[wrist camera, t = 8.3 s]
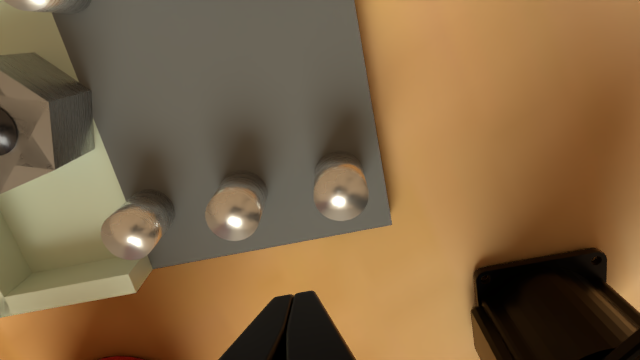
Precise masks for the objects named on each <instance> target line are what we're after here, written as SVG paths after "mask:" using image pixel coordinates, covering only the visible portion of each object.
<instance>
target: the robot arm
mask: <svg viewBox="0 0 640 360" xmlns="http://www.w3.org/2000/svg"><path fill="white" fill-rule="evenodd" d="M596 256H597V257H596ZM594 257H596V259H595V260H593V261H592V259H593V258H594ZM606 273H607V258H606V255H605V254H604V253H603V252H602V251H600V250H599V249H597V248H590V249H584V250H578V251H573V252H567V253H561V254H556V255H550V256H544V257H538V258H533V259H527V260H521V261H516V262H510V263H504V264H498V265H493V266H487V267H482V268H479V269H477V270H476V271H475V273H474V276H473V279H474V289H475V298H476V306H475V307H473V309H472V310H471V318H472V327H473V337H474V346H475V349H476V351H477V353H478V355H479V357H480V359H481V360H640V313H639V312H638V311H637V310H636V309H635V308H634V307H633V306H632V305H631V304H629V303H628V302H627V301H626V300H625V299H624V298H623V297H622V296H620V295H619V294H618V293H617V292H616V291H615V290H614V289H613V288H612V287H610V286H609V285H608V284H607V283H606ZM483 276H488V277H487V278H486V279H484V280H481V278H482V277H483ZM219 360H356V359H355V357H354V356H353V354H352V352H351V351H350V349H349V347H348V346H347V344H346V342H345V341H344V339H343V337H342V336H341V334H340V333H339V331H338V329H337V328H336V326H335V324H334V323H333V321H332V319H331V318H330V316H329V314H328V313H327V311H326V309H325V308H324V306H323V304H322V303H321V301H320V300H319V298H318V296H317V295H316V293H315V292H314V291H307V292H301V293H297V294H295V295H294V296H293V295H292V294H290V295H284V296H278V297H275V298H273V299H272V300H271V301H270V302H269V304H268V305H267V306H266V307H265V308H264V309H263V310H262V311H261V312H260V314H259V315H258V316H257V317H256V318H255V319H254V320H253V321H252V323H251V324H250V325H249V326H248V327H247V328H246V329H245V330H244V332H243V333H242V334H241V335H240V336H239V337H238V338H237V339H236V341H235V342H234V343H233V344H232V345H231V346H230V347H229V348H228V349H227V351H226V352H225V353H224V354H223V355H222V356H221V357H220V358H219Z"/></svg>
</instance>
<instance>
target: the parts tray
mask: <svg viewBox="0 0 640 360" xmlns="http://www.w3.org/2000/svg"><path fill="white" fill-rule="evenodd" d="M32 52H35V53H36V54H38V55H39V56H41V57H42V58H44V59H45V60H47V61H48V62H50V63H51V64H53V65H54V66H56V67H57V68H59V69H60V70H62V71H63V72H65V73H66V74H68V75H69V76H71V77H72V78H74V79H75V80H77V81H78V78H77V76H76V73H75V71H74V68H73V66H72V63H71V61H70V58H69V56H68V53H67V51H66V48H65V46H64V43H63V40H62V38H61V35H60V33H59V30H58V28H57V25H56V23H55V20H54V18H53V15H52V13H50V12H33V11H23V10H19V9H16V8H14V7H12V6H10V5H9V4H8V3H6V2H5V1H4V0H0V55H8V54H20V53H32ZM78 82H79V81H78ZM93 125H94V142H95V149H94V150H92V151H90V152H88V153H86V154H84V155H82V156H80V157H79V158H77V159H75V160H73V161H71V162H69V163H67V164H65V165H63V166H62V167H60V168H58V169H56V170H54V171H52V172H49V173H47V174H45V175H42V176H40V177H38V178H36V179H33V180H31V181H29V182H27V183H24V184H22V185H20V186H18V187H15V188H13V189H11V190H8V191H6V192H4V193H2V194H0V318H1V317H6V316H12V315H17V314H23V313H28V312H34V311H39V310H45V309H50V308H56V307H61V306H67V305H72V304H78V303H83V302H89V301H94V300H100V299H105V298H111V297H116V296H122V295H127V294H133V293H136V292H137V291H138V290H139V288H140V287H141V285H142V284H143V282H144V281H145V280H146V278H147V277H148V275H149V274H150V273H151V271H152V270H153V268H152V266H151V263H150V261H149V258H148V256H145V257H144V258H141V259H138V260H125V259H122V258H119V257H117V256H115V255H113V254H112V253H111V252H110V251H109V250H108V249H107V248H106V247H105V245H104V243H103V241H102V238H101V228H102V225H103V223H104V221H105V220H106V219H107V218H108V217H109V216H110V215H112V214H113V213H114V212H115V211H116V210H117V209H118V208H120V207H121V206H122V205H123V204H124V203H125V202H126V200H125V197H124V195H123V192H122V190H121V187H120V185H119V182H118V180H117V177H116V175H115V172H114V170H113V167H112V164H111V162H110V159H109V157H108V154H107V152H106V149H105V147H104V144H103V142H102V139H101V137H100V134H99V132H98V129H97V127H96V124H95V121H94V119H93Z"/></svg>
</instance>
